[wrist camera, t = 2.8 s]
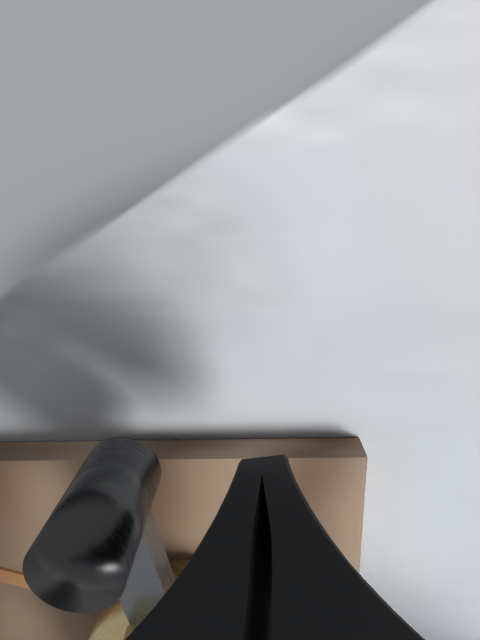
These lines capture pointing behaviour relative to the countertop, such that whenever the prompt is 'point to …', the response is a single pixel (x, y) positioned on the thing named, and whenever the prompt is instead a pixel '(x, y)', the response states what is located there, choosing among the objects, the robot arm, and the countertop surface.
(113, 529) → the gold and black piece
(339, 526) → the wooden board
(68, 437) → the countertop surface
